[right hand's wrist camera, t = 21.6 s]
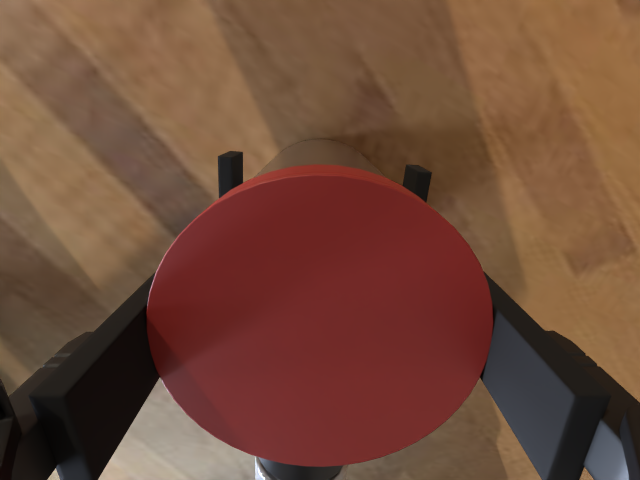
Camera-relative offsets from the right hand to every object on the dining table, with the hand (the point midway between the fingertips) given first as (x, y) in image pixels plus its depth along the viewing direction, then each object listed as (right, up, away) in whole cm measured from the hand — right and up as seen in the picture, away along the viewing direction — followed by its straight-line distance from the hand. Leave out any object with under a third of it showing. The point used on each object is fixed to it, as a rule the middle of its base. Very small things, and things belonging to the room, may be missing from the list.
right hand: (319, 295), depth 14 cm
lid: (0, -1, -3) cm, 3 cm away
